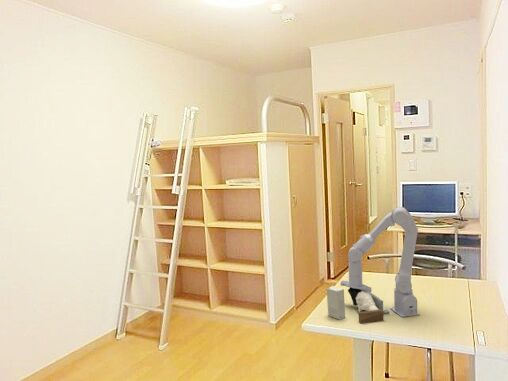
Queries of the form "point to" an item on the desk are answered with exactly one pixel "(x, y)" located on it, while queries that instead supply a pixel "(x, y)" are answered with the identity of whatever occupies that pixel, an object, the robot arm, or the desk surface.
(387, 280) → the desk surface
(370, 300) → the white lumpy rounded piece
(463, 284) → the desk surface
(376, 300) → the screen
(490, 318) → the desk surface
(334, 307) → the skincare box
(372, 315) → the stop bar
